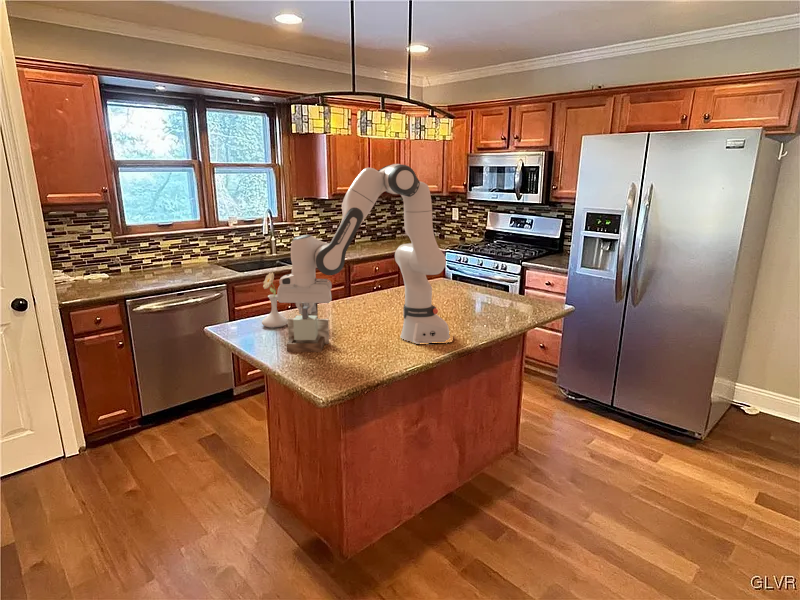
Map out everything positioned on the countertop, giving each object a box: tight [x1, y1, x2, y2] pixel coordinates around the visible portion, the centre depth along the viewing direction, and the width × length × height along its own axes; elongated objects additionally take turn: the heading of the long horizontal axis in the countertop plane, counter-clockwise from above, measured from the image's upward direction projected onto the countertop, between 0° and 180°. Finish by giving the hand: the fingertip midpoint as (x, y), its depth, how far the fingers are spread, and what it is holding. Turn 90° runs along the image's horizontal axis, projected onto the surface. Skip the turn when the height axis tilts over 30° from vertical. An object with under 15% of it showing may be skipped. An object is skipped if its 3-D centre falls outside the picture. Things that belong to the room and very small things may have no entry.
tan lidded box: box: [286, 317, 330, 353], centre depth 185 cm, size 16×11×10 cm
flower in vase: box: [261, 271, 288, 328], centre depth 208 cm, size 13×11×25 cm
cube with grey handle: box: [293, 306, 318, 340], centre depth 183 cm, size 8×6×12 cm
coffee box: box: [300, 303, 319, 319], centre depth 211 cm, size 9×6×16 cm
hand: (305, 313), depth 182 cm, fingers closed on cube with grey handle
